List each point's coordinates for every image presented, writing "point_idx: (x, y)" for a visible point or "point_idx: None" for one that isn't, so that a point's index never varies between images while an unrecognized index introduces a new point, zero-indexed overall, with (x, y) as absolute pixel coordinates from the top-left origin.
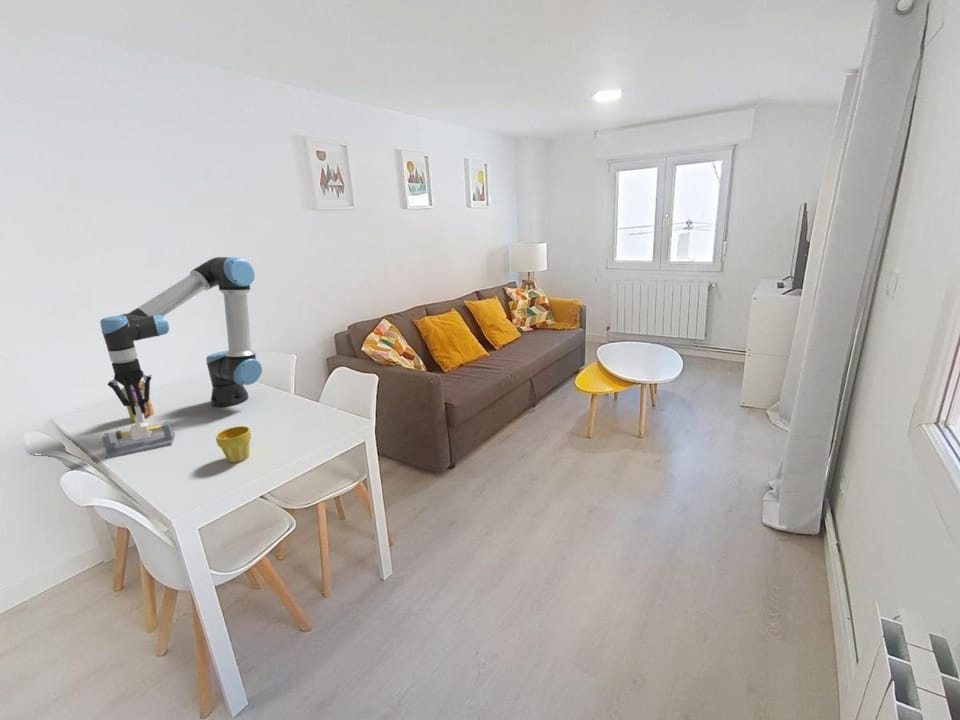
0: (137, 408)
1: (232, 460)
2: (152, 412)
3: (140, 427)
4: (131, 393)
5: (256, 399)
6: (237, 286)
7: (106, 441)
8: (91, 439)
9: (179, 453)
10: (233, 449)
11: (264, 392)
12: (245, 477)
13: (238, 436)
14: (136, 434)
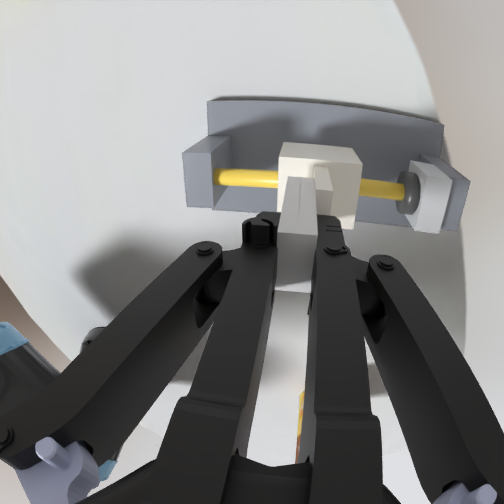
0: (297, 223)
1: None
2: (302, 395)
3: (309, 158)
4: (311, 360)
5: (68, 325)
6: None
7: (449, 171)
8: (450, 321)
9: (171, 6)
10: None
11: (70, 349)
12: None
13: None
14: (335, 152)
